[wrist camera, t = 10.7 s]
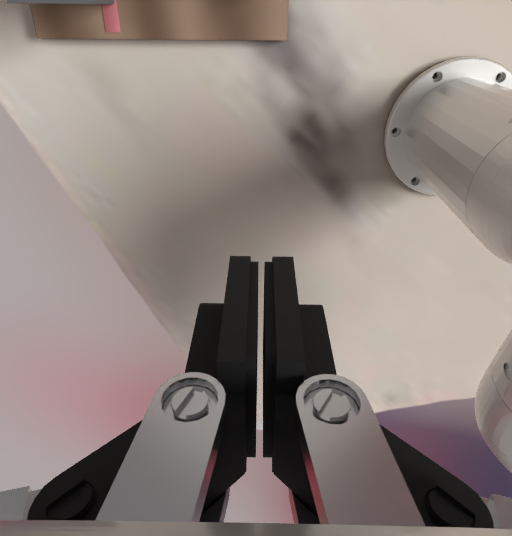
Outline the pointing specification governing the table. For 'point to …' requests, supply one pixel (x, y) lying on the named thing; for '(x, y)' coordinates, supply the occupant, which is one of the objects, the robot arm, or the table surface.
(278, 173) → the table surface
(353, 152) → the table surface
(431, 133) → the robot arm
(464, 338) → the table surface
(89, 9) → the pipe rig
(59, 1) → the collar
